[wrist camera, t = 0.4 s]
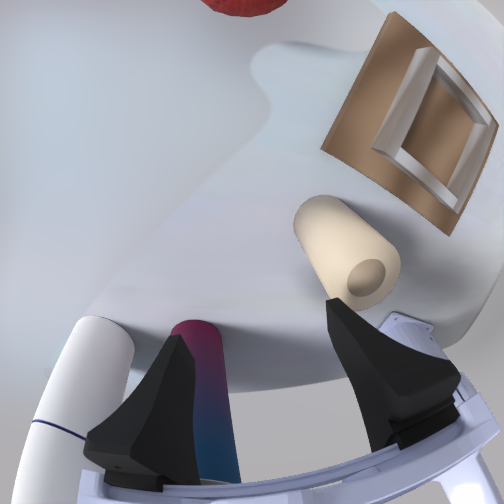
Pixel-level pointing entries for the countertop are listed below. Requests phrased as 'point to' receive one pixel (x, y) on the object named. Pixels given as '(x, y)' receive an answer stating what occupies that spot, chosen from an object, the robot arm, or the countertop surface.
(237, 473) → the cup
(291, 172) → the countertop surface
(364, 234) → the roll
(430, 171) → the holder
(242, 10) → the red round fruit
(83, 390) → the cylindrical container
